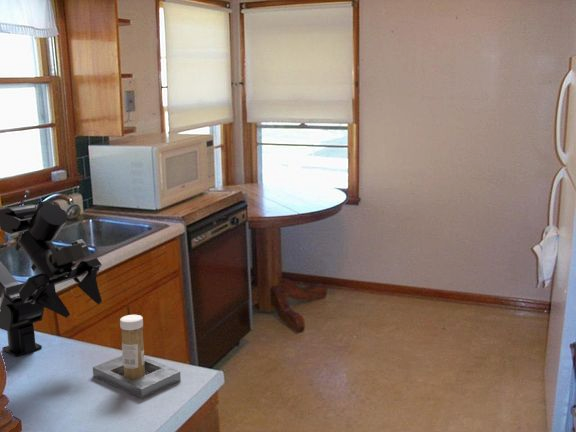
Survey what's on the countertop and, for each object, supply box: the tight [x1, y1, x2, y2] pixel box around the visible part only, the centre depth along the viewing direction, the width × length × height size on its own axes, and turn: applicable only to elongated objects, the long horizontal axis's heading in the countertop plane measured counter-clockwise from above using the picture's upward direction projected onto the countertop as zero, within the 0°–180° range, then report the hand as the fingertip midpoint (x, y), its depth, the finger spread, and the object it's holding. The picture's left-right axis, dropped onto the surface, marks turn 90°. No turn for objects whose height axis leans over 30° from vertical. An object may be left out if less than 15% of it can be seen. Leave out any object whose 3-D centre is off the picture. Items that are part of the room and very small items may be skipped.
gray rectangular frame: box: [92, 355, 182, 400], centre depth 126 cm, size 16×10×2 cm, turn 52°
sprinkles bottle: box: [119, 314, 146, 381], centre depth 125 cm, size 5×5×14 cm
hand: (84, 309), depth 128 cm, fingers open, 9 cm apart
